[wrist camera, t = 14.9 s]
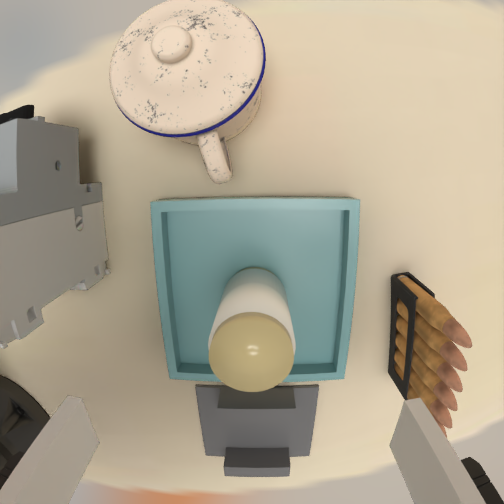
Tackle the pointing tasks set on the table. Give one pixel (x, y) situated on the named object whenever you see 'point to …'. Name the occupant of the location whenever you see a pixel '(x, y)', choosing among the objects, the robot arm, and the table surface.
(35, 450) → the robot arm
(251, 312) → the cylinder
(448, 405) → the ammunition clip
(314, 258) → the parts tray
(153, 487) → the table surface
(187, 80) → the teacup with lid
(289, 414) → the grey square holder base
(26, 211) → the circuit breaker
